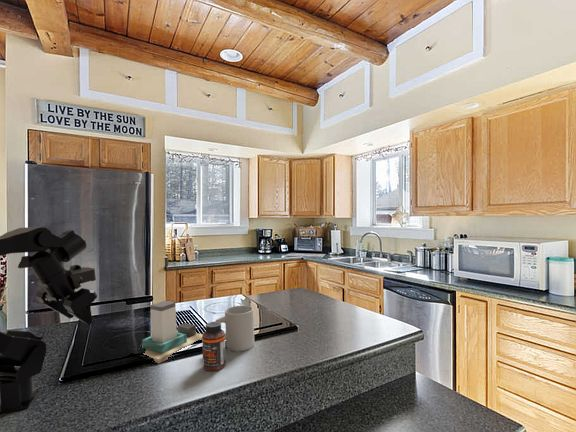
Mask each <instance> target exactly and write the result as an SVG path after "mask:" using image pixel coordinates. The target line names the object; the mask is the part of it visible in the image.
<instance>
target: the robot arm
mask: <svg viewBox="0 0 576 432" xmlns="http://www.w3.org/2000/svg"><path fill="white" fill-rule="evenodd" d="M86 249H87V241H86V240H85V239H84V238H82V236H80V235H79V234H76V233H75V231H74V230H73V229H72V230H71V229H69V230H68V229H67V230H66V231H64V232H63V233H62V234H60V235H59V236H57V235H56V234H54V233H52V231H51V230H50V229H49V228H47V227H45V226H38V227H37V226H36V227H35V226H32V227H19V228H16V229H13V230H10V231H7V232H5V233H4V234H2V235H0V257H2V256H5V255H9V254H21V253H32V254H31V255H23V256H21V257H20V261H19V262H18V266H17V268H18V269H27V268H30V269H31V270H32V272H33V274H34V275H35V277H36V278H37V280H38V281H37V285H38V286H40V287H41V286H42V288H40V289H39V290H37V291H36V294H35V298H36V300H37V301H38V303H39V302H40V303H42V304H43V305H45V306H46V307H48V308H49V309H51V310H54V311H55V312H56V313H59V314H60V315H62V316H64V317H66V318H68V319H72V318H74V317H75V318H76V319H78V320H79V321H81V322H83V323H84V324H85V325H87V326H90V325H91V324H92V323H93V315H92V308H91V305H92V303H93V302H95V300H96V299H98V295H97V293H96V291H95V290H94V289H91V288H82V285H81V284H84V283H88V282H95V281H96V280H97V276H96V270H95V268H94V267H88V266H87V267H86V266H83V267H82V266H81V265H79V264H73V265H71V266H70V267H69V268H68V269H66V268H65V267H64V264H63V263H69V262H70V261H71V260H72V259H74V258H75V257H77V256H78V255H80V254H81V253H83V252H84V251H85V250H86ZM62 262H63V263H62ZM79 288H80V289H79ZM78 289H79V290H78ZM75 290H77V291H75ZM43 338H44V336H36V335H35V334H34V333H33V332H30V331H27V330H26V331H25V330H9V329H8V330H7V332H6V333H5V332H2V331H0V414H4V413H7V412H13V411H19V410H24V409H28V408H29V407H31V406H32V404H33V403H34V401H35V400H36V399H37V398H38V396H39V395H40V393H41V390H40V389H39V390H34V376H36V375H38V374H40V373H41V372H42V371H43V370H42V369H43V366H44V365H43V364H44V361H45V357H46V353H47V342H46V341H44V340H42V339H43Z"/></svg>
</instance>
